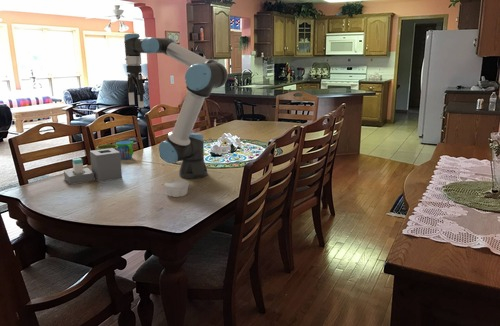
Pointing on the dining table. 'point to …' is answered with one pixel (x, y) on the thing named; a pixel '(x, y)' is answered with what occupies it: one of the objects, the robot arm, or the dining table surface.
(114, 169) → the block
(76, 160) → the plug
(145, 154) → the dining table surface
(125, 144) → the snack cup
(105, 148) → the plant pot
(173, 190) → the ramekin
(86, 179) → the plate
